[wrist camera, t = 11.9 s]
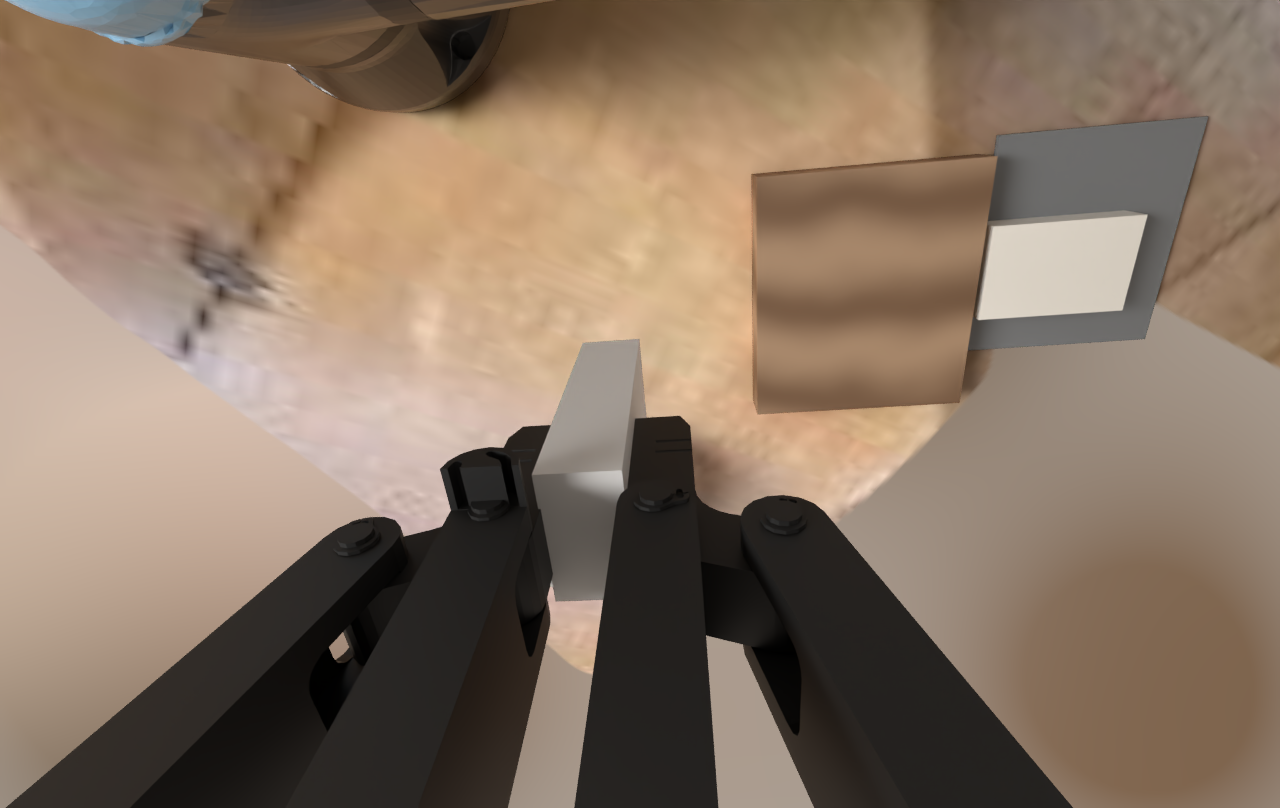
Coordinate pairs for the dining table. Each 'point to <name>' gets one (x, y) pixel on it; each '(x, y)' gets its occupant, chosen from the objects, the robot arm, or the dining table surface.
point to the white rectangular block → (1057, 264)
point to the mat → (1089, 183)
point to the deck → (866, 282)
